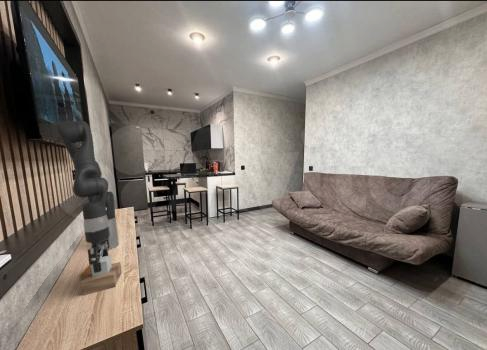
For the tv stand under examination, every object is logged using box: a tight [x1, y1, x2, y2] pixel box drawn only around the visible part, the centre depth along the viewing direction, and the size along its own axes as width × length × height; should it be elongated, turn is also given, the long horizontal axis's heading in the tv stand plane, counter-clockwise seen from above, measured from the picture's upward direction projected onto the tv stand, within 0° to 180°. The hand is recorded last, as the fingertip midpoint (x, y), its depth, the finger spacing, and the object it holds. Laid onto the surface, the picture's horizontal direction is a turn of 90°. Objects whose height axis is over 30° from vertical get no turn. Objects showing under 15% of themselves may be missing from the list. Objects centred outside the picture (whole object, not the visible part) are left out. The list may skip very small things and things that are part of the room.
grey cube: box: [91, 254, 113, 277], centre depth 72 cm, size 5×5×5 cm
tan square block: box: [81, 261, 122, 296], centre depth 73 cm, size 10×10×5 cm
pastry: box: [82, 265, 92, 280], centre depth 80 cm, size 9×7×4 cm
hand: (101, 266), depth 72 cm, fingers open, 8 cm apart
